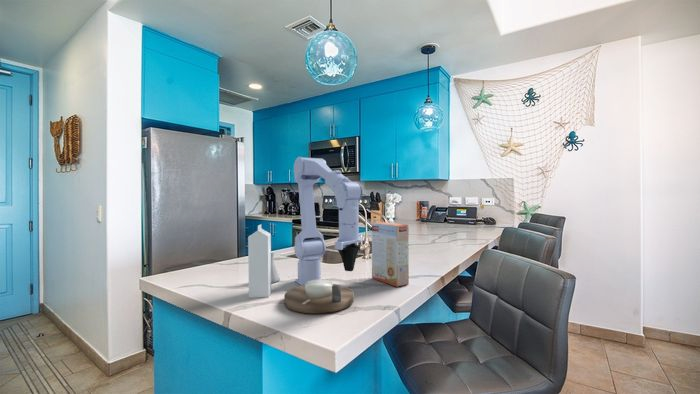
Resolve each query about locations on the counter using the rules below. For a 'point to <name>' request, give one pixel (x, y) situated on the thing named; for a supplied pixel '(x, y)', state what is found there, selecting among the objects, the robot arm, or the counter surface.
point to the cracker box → (390, 253)
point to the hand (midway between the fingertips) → (349, 270)
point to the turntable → (318, 300)
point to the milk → (259, 263)
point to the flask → (274, 271)
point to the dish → (318, 288)
